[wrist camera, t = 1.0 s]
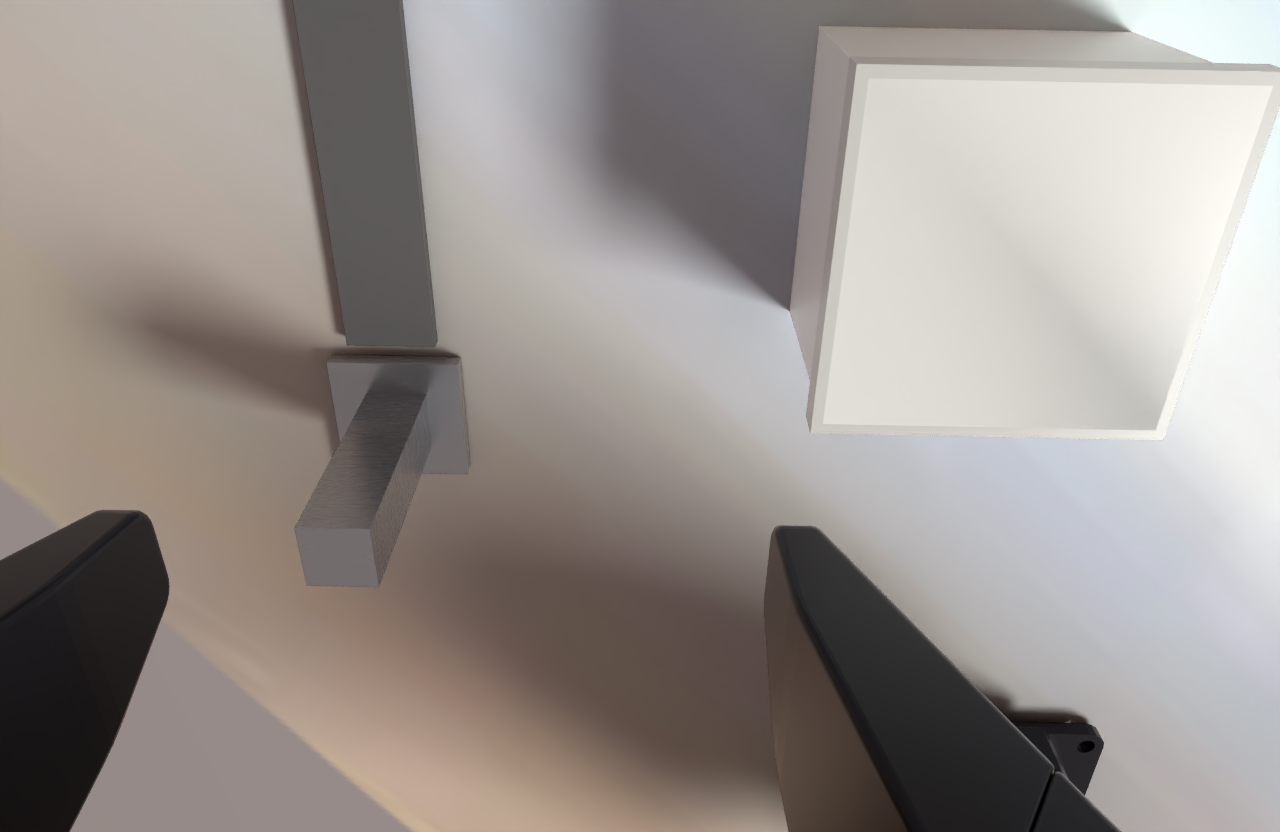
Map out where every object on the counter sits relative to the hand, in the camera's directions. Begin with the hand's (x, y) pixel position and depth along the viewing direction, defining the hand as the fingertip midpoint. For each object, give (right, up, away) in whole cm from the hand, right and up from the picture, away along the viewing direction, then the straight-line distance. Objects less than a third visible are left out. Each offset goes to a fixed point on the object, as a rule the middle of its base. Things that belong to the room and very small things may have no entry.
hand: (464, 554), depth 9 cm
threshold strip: (-4, +8, +10) cm, 13 cm away
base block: (+8, +6, +11) cm, 15 cm away
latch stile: (-4, +1, +14) cm, 14 cm away
